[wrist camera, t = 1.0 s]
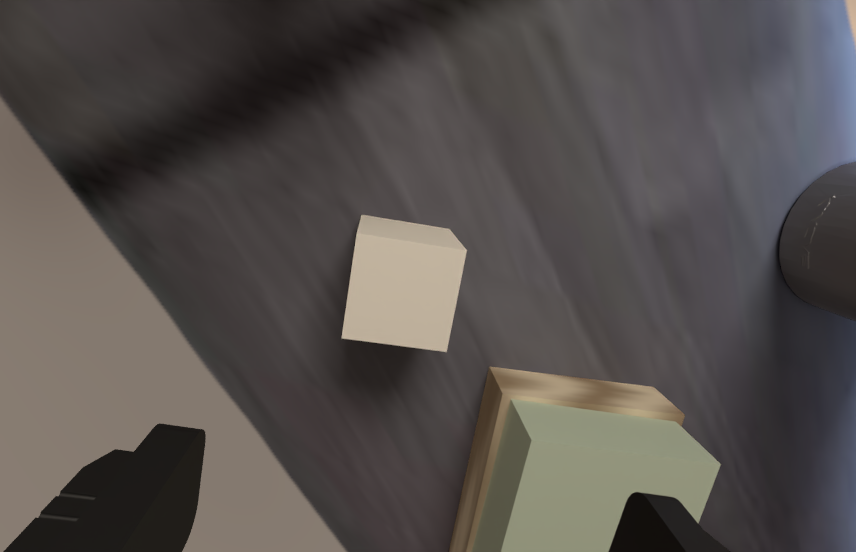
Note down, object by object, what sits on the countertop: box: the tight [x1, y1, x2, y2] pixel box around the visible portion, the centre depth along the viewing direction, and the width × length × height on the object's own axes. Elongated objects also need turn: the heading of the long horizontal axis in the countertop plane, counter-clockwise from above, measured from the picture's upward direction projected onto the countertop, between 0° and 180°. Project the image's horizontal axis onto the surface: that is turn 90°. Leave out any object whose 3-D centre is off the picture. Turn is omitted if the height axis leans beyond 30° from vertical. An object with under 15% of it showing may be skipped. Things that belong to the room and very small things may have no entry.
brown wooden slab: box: [449, 367, 685, 552], centre depth 32 cm, size 11×15×4 cm
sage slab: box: [472, 399, 721, 552], centre depth 28 cm, size 10×14×4 cm
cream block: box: [342, 215, 467, 352], centre depth 26 cm, size 5×5×6 cm
